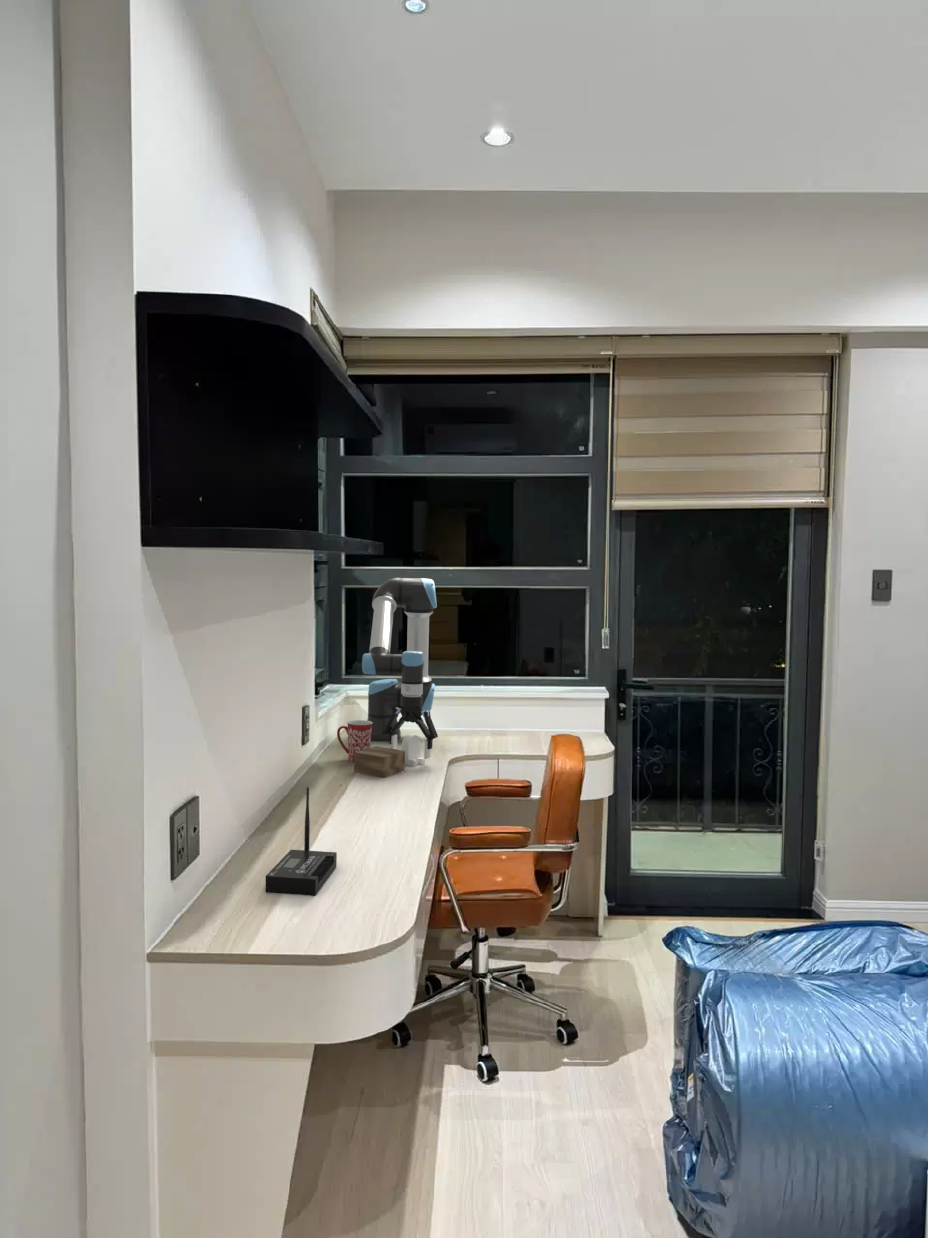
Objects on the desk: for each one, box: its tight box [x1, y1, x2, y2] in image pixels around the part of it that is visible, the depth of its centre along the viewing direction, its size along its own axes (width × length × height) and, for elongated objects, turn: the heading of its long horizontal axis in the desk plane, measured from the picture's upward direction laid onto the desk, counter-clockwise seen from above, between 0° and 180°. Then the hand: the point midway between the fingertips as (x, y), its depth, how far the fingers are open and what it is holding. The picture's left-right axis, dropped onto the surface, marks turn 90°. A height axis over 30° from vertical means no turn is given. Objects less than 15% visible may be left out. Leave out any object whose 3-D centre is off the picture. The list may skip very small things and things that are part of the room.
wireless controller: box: [264, 786, 338, 897], centre depth 170 cm, size 20×14×17 cm
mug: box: [336, 719, 373, 763], centre depth 279 cm, size 13×9×14 cm
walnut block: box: [353, 746, 406, 779], centre depth 263 cm, size 12×12×7 cm
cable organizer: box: [401, 733, 426, 767], centre depth 277 cm, size 5×10×10 cm, turn 44°
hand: (410, 756), depth 277 cm, fingers open, 13 cm apart
